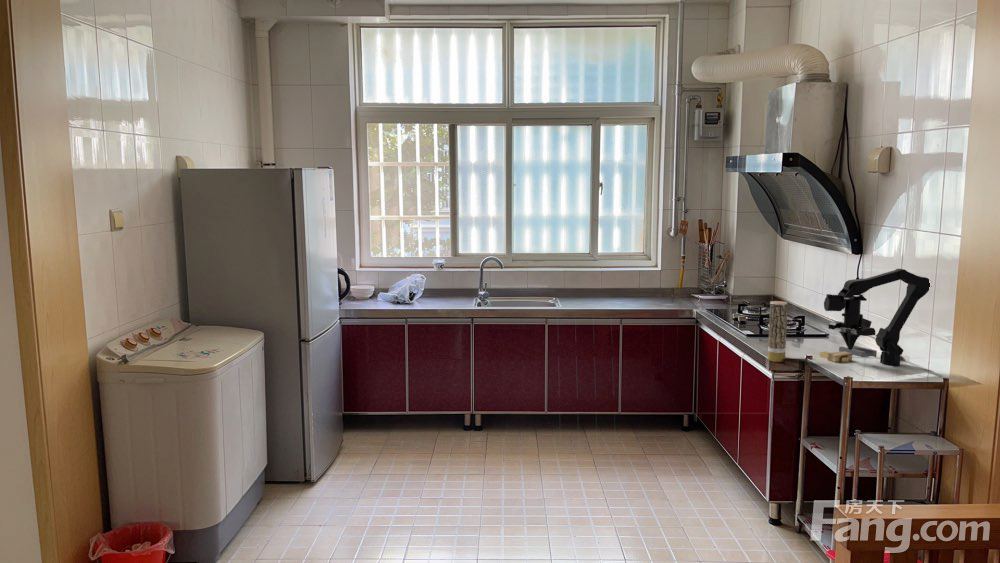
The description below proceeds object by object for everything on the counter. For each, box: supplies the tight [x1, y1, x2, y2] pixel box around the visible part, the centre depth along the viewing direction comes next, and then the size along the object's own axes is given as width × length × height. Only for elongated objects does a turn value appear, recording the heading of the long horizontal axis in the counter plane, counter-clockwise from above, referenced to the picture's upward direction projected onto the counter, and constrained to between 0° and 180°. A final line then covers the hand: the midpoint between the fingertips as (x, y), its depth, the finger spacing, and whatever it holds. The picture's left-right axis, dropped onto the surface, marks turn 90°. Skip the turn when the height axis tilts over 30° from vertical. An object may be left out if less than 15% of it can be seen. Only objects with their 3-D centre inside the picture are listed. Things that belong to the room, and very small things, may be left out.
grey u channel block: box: [838, 345, 878, 358], centre depth 302 cm, size 12×8×4 cm
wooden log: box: [767, 300, 788, 363], centre depth 293 cm, size 7×7×25 cm
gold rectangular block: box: [819, 351, 850, 363], centre depth 291 cm, size 12×4×4 cm, turn 20°
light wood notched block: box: [826, 351, 853, 364], centre depth 287 cm, size 4×9×5 cm, turn 109°
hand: (850, 349), depth 282 cm, fingers closed
